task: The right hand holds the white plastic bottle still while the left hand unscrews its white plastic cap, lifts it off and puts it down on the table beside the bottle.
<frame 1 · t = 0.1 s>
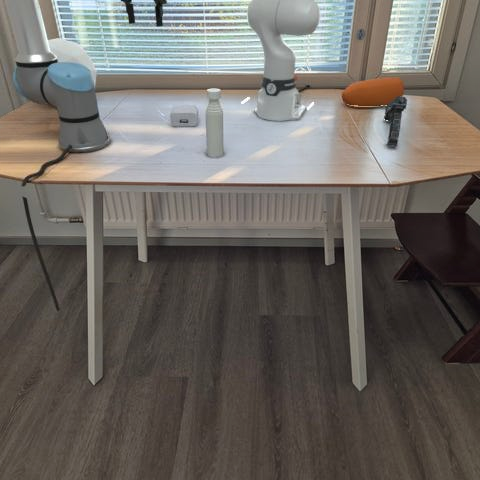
left hand: (145, 24, 154), 28 cm above the table, tool pointing down, fingers open, 13 cm apart
decorative sphere: (70, 104, 164), on the table
bottle: (215, 154, 124), on the table
clog: (369, 105, 167), on the table
futuristic handgun: (389, 134, 140), on the table
cap: (213, 91, 113), point 19 cm above the table, screwed on, not yet turned
charger: (185, 120, 150), on the table
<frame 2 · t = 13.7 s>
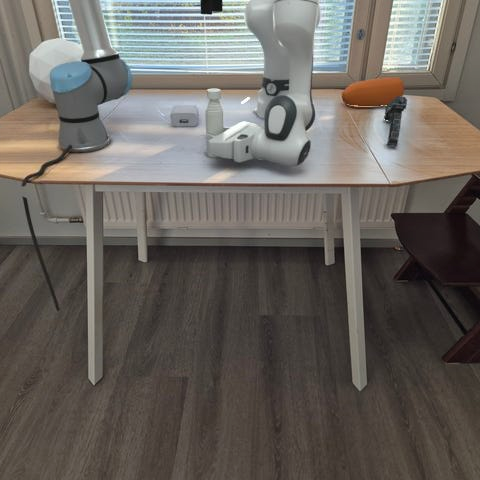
left hand: (211, 12, 102), 38 cm above the table, tool pointing down, fingers open, 6 cm apart
right hand: (212, 133, 121), 7 cm above the table, tool horizontal, fingers closed on bottle, 5 cm apart
bottle: (215, 154, 124), on the table, touching right hand
everything else where it was.
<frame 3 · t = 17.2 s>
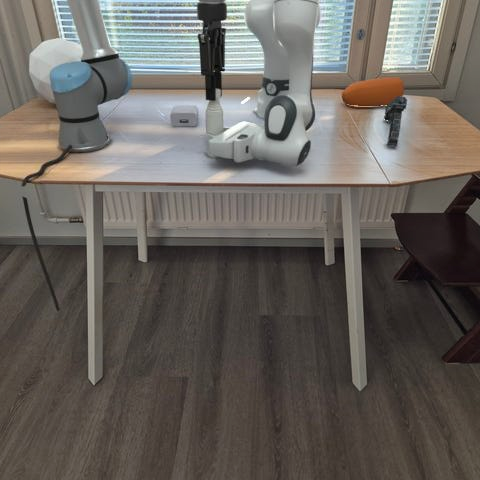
left hand: (213, 97, 114), 17 cm above the table, tool pointing down, fingers closed on cap, 4 cm apart
right hand: (212, 133, 120), 7 cm above the table, tool horizontal, fingers closed on bottle, 5 cm apart
bottle: (215, 154, 124), on the table, touching right hand
cap: (213, 91, 113), point 19 cm above the table, screwed on, not yet turned, touching left hand
everything else where it was.
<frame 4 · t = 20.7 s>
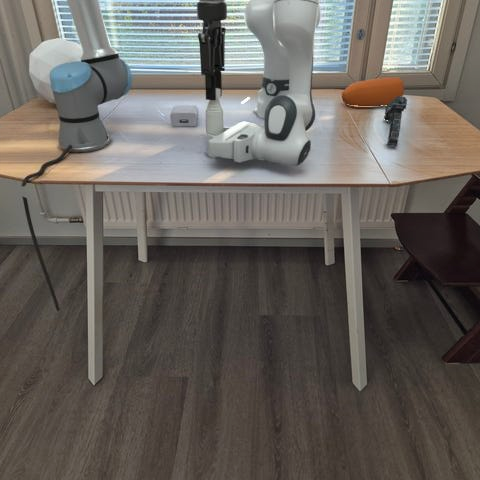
left hand: (213, 97, 114), 17 cm above the table, tool pointing down, fingers closed on cap, 4 cm apart
right hand: (212, 133, 120), 7 cm above the table, tool horizontal, fingers closed on bottle, 5 cm apart
bottle: (215, 154, 124), on the table, touching right hand
cap: (213, 90, 113), point 19 cm above the table, turned 137° so far, risen 0.1 cm, still on its thread, touching left hand
everything else where it was.
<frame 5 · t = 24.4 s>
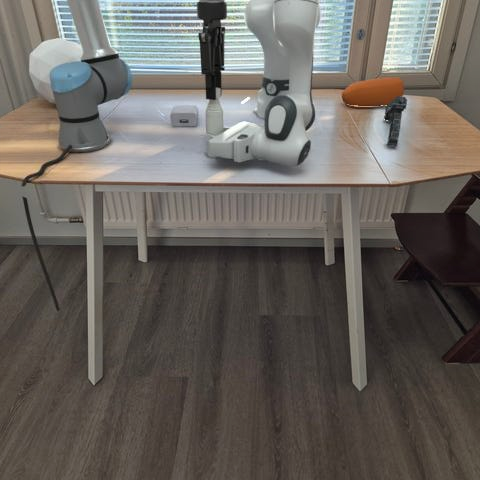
left hand: (213, 96, 114), 17 cm above the table, tool pointing down, fingers closed on cap, 4 cm apart
right hand: (212, 133, 120), 7 cm above the table, tool horizontal, fingers closed on bottle, 5 cm apart
bottle: (215, 154, 124), on the table, touching right hand
cap: (213, 90, 113), point 19 cm above the table, turned 275° so far, risen 0.2 cm, still on its thread, touching left hand
everything else where it was.
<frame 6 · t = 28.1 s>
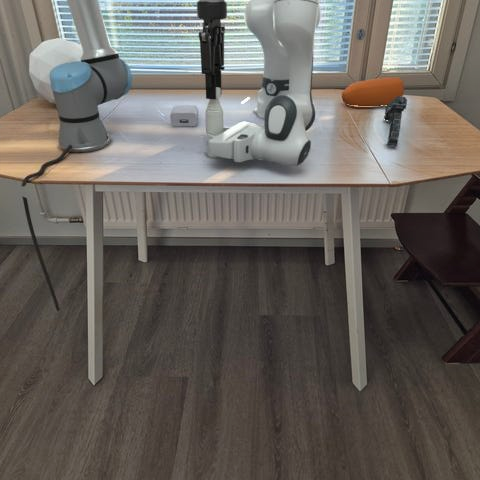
left hand: (213, 96, 114), 17 cm above the table, tool pointing down, fingers closed on cap, 4 cm apart
right hand: (212, 133, 120), 7 cm above the table, tool horizontal, fingers closed on bottle, 5 cm apart
bottle: (215, 154, 124), on the table, touching right hand
cap: (213, 89, 113), point 19 cm above the table, turned 412° so far, risen 0.4 cm, still on its thread, touching left hand
everything else where it was.
when the left hand's fingers open (1 cm above the table, at t = 35.6 s): cap drops 1 cm, point 2 cm above the table.
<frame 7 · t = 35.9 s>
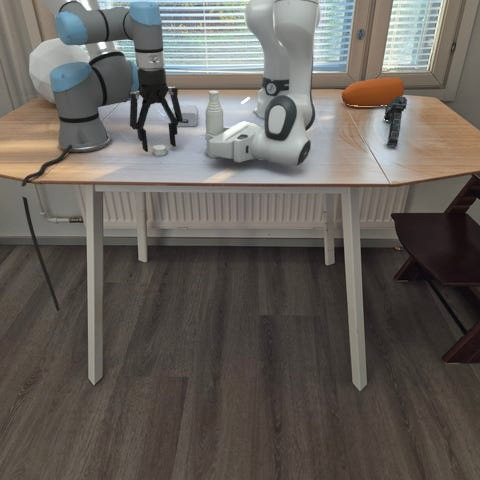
left hand: (159, 147, 123), 2 cm above the table, tool pointing down, fingers open, 8 cm apart
right hand: (212, 133, 120), 7 cm above the table, tool horizontal, fingers closed on bottle, 5 cm apart
bottle: (215, 154, 124), on the table, touching right hand
cap: (159, 148, 123), point 2 cm above the table, off its thread
everything else where it was.
when the right hand's fingers open (7 cm above the table, at t = 36.9 s): bottle stays where it is, on the table.
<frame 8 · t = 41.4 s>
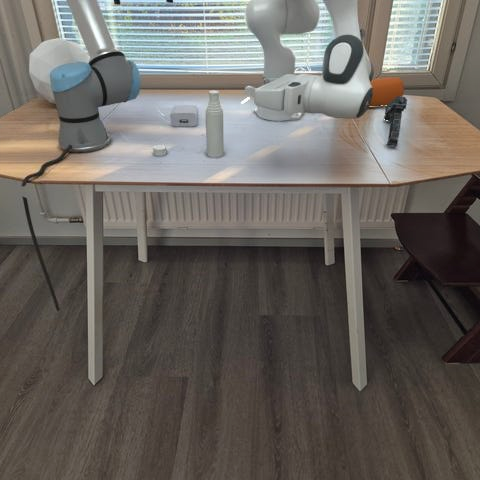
left hand: (144, 3, 101), 40 cm above the table, tool pointing down, fingers open, 13 cm apart
right hand: (254, 85, 106), 22 cm above the table, tool horizontal, fingers open, 8 cm apart
bottle: (215, 154, 124), on the table
everything else where it was.
at the end: cap came off its thread; cap point 1.7 cm above the table; the left hand is holding nothing; the right hand is holding nothing; bottle tilted 0°; bottle moved 0.0 cm from its start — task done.
